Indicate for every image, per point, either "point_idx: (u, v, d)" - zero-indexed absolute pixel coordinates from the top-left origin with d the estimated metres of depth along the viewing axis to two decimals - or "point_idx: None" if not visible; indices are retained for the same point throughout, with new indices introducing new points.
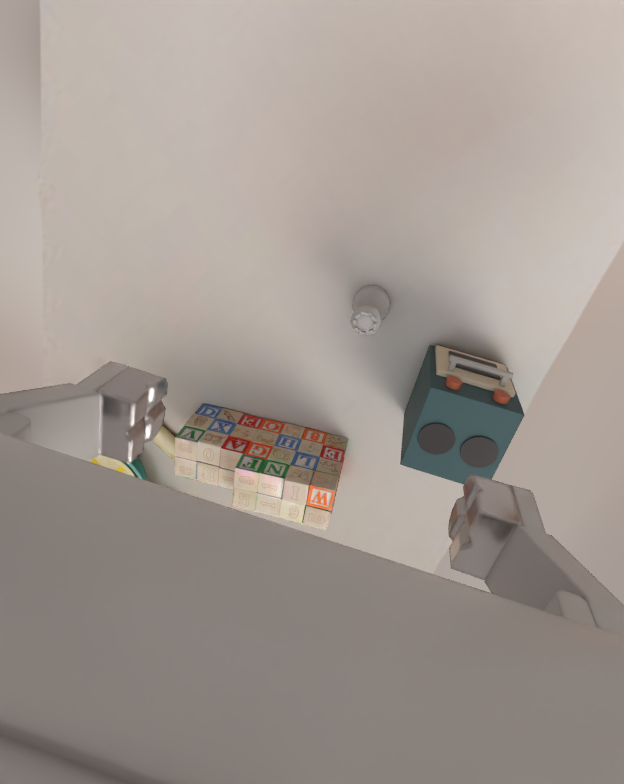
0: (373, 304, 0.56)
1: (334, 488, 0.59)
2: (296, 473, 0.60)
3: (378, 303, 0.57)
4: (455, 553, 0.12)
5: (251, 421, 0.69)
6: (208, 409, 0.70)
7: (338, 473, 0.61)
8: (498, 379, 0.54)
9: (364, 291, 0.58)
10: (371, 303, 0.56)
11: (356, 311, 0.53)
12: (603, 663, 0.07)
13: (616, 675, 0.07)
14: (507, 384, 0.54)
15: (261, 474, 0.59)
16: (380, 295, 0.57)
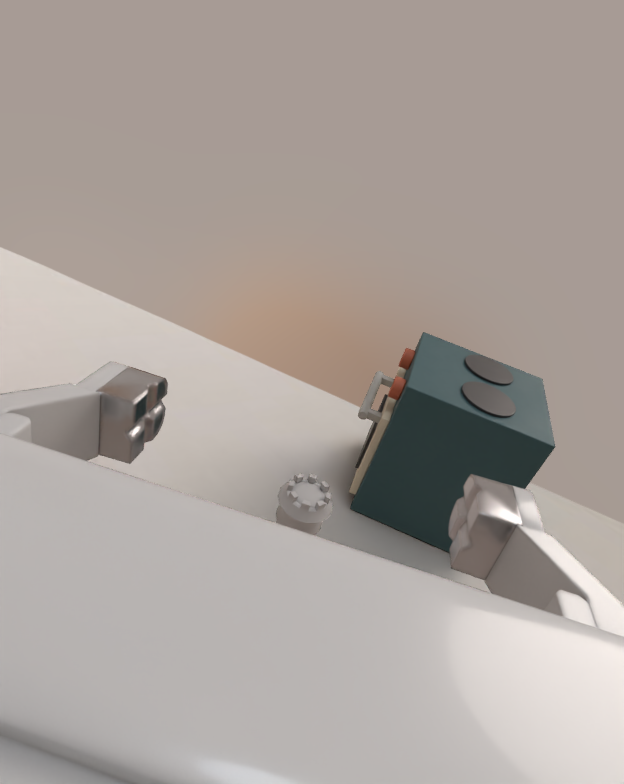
0: None
1: None
2: None
3: None
4: (455, 553, 0.12)
5: None
6: None
7: None
8: (386, 395, 0.42)
9: None
10: None
11: (286, 506, 0.28)
12: (603, 664, 0.07)
13: (616, 675, 0.07)
14: None
15: None
16: None
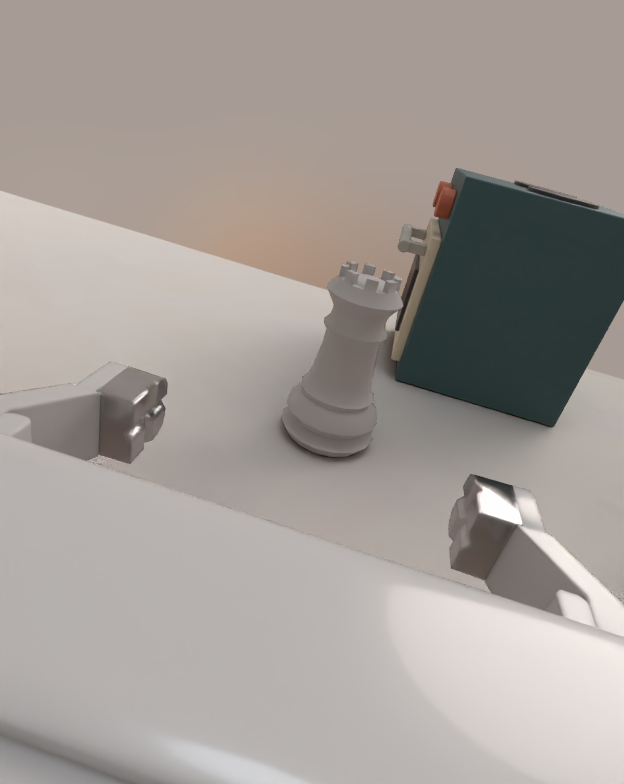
0: None
1: None
2: None
3: None
4: (456, 553, 0.12)
5: None
6: None
7: None
8: None
9: (295, 402, 0.22)
10: None
11: (343, 292, 0.20)
12: (603, 664, 0.07)
13: (616, 675, 0.07)
14: (422, 243, 0.35)
15: None
16: None
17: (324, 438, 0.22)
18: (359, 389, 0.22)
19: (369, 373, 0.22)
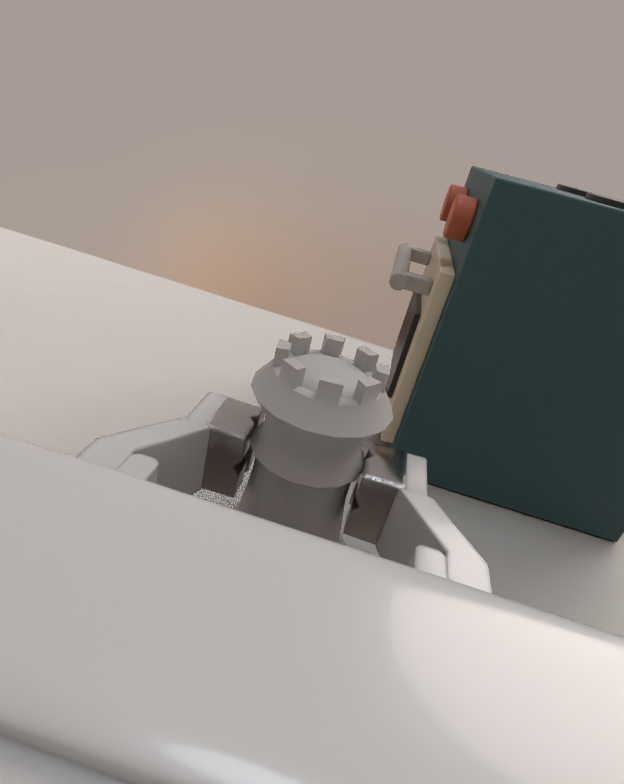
0: None
1: None
2: None
3: None
4: (347, 519, 0.12)
5: None
6: None
7: None
8: None
9: None
10: (252, 471, 0.13)
11: (276, 401, 0.10)
12: (603, 664, 0.07)
13: (616, 675, 0.07)
14: (425, 269, 0.26)
15: None
16: None
17: None
18: None
19: (333, 528, 0.12)
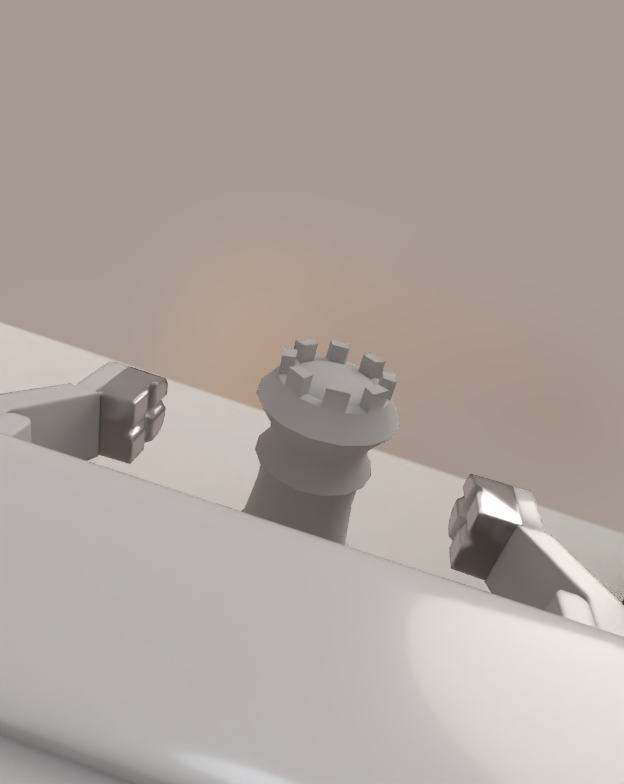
0: None
1: None
2: None
3: None
4: (455, 553, 0.12)
5: None
6: None
7: None
8: None
9: None
10: (257, 478, 0.13)
11: (283, 410, 0.10)
12: (602, 664, 0.07)
13: (616, 675, 0.07)
14: None
15: None
16: None
17: None
18: None
19: (339, 535, 0.12)
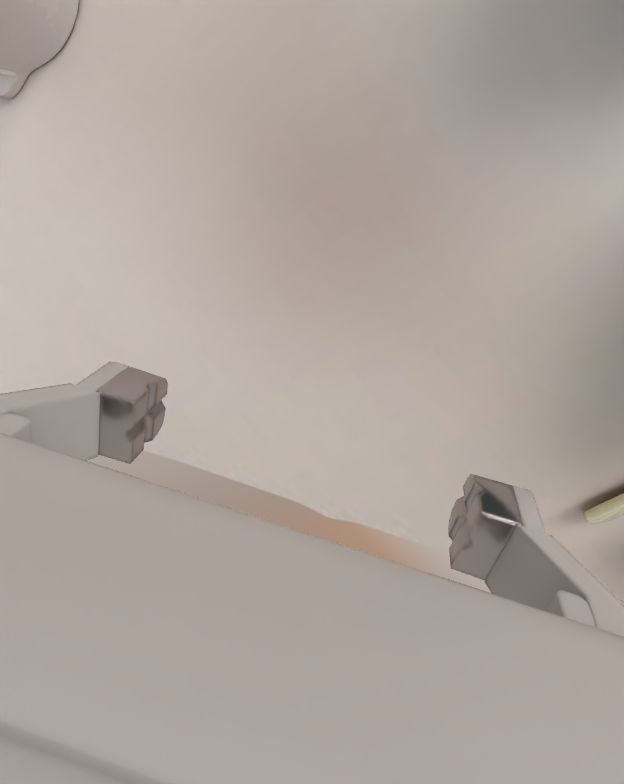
0: None
1: None
2: None
3: None
4: (455, 553, 0.12)
5: None
6: None
7: None
8: None
9: None
10: None
11: None
12: (603, 664, 0.07)
13: (616, 675, 0.07)
14: None
15: None
16: None
17: None
18: None
19: None
